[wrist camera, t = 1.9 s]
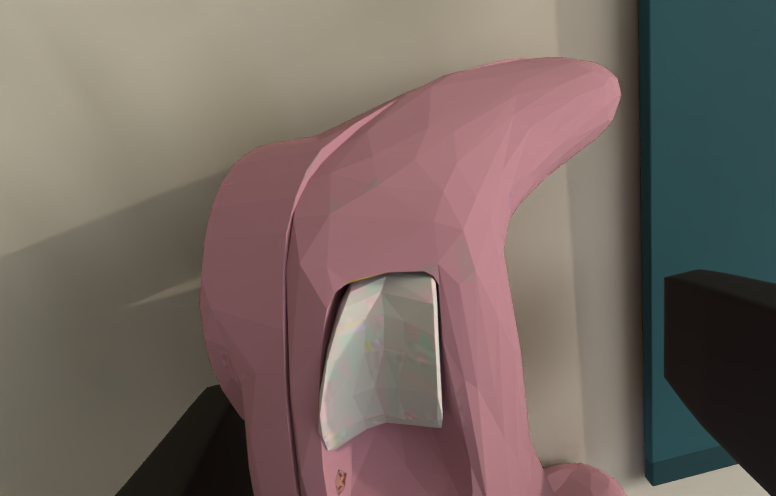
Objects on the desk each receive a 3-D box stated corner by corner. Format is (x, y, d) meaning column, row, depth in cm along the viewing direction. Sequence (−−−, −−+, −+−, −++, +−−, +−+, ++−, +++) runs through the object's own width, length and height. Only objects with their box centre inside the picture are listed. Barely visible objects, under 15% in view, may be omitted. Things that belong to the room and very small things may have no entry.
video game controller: (346, 76, 10) (-27, 213, 4) (615, 27, 8) (695, 132, 2) (433, 476, 13) (311, 865, 8) (630, 500, 12) (676, 1024, 6)
